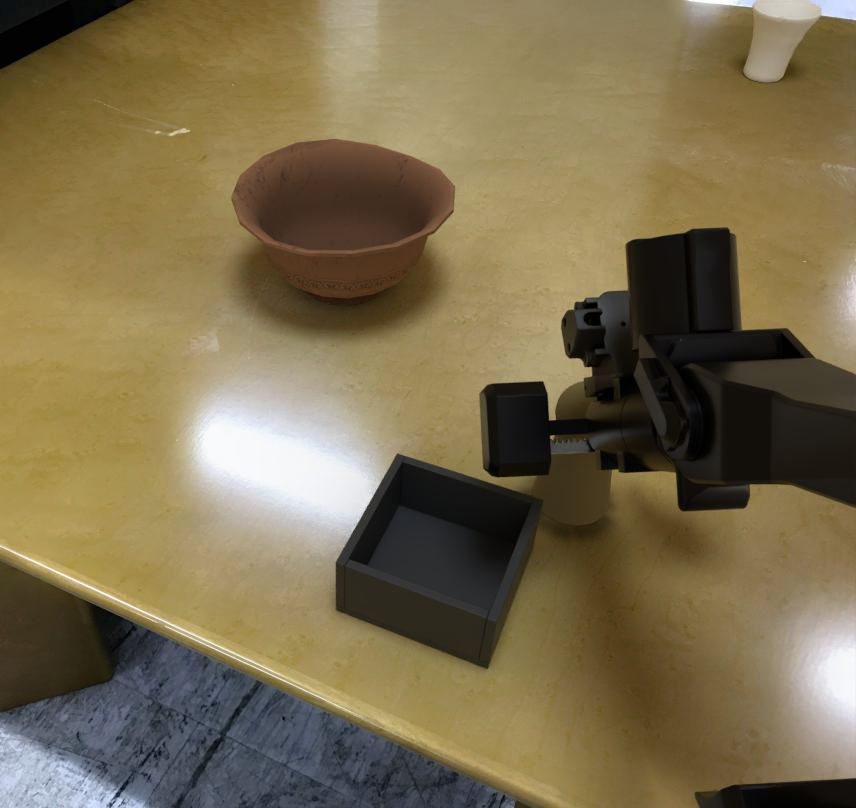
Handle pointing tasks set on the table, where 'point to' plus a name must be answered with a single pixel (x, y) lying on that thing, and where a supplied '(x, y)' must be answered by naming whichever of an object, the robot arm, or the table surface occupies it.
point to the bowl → (342, 215)
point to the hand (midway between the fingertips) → (584, 425)
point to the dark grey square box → (438, 558)
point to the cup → (777, 36)
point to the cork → (573, 472)
